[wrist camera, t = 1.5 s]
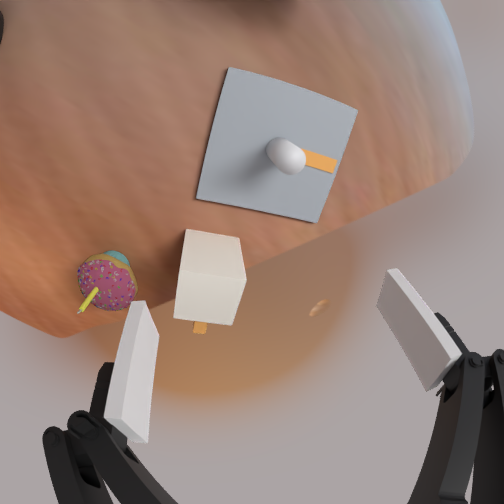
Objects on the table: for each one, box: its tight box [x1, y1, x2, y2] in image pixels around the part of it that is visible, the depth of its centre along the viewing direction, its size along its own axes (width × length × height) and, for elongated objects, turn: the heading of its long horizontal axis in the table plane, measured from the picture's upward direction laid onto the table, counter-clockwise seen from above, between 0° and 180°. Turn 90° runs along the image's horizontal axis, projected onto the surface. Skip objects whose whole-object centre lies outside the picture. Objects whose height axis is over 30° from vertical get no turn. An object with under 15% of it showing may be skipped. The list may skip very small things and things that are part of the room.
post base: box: [196, 67, 358, 223], centre depth 28 cm, size 16×16×6 cm
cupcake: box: [77, 251, 138, 314], centre depth 31 cm, size 9×8×12 cm
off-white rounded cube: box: [174, 229, 247, 334], centre depth 34 cm, size 10×7×9 cm, turn 165°
